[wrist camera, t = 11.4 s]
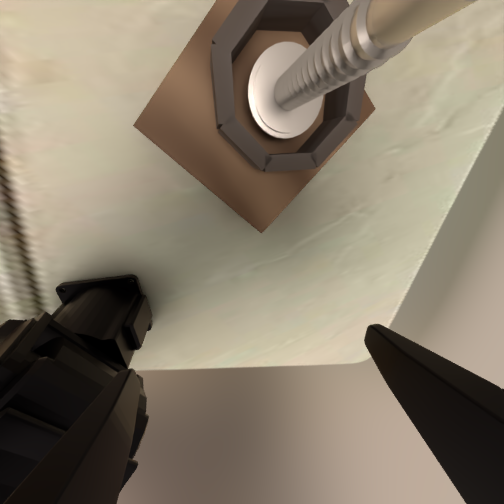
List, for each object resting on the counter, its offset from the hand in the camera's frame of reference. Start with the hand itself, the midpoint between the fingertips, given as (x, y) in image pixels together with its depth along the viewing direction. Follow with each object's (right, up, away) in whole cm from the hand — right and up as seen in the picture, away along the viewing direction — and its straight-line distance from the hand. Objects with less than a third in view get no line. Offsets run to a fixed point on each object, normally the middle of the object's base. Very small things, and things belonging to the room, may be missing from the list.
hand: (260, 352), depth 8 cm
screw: (+1, +14, +7) cm, 16 cm away
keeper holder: (0, +14, +8) cm, 16 cm away
